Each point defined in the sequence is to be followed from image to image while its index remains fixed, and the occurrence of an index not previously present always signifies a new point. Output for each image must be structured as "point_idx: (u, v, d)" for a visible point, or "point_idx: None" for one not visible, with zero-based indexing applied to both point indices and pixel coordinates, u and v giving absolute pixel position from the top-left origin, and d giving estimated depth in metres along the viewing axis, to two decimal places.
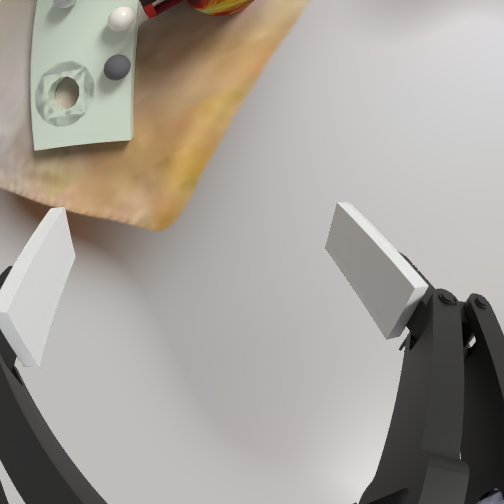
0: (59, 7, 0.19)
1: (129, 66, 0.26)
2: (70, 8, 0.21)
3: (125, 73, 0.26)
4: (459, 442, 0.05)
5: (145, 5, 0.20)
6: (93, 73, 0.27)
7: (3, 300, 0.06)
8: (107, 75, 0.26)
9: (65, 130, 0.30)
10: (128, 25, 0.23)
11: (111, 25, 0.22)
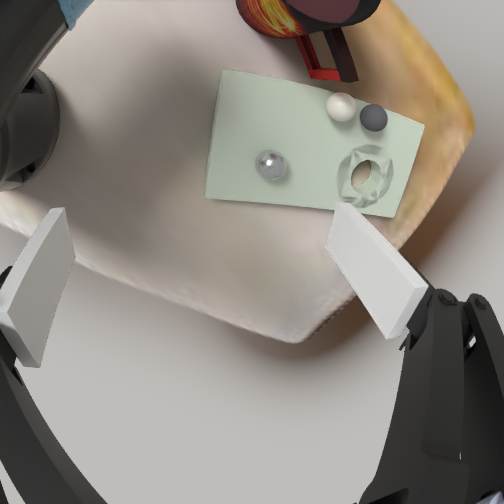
0: (284, 171, 0.30)
1: None
2: None
3: (385, 111, 0.28)
4: (459, 442, 0.05)
5: None
6: (362, 142, 0.32)
7: (3, 300, 0.06)
8: (382, 129, 0.29)
9: (395, 182, 0.36)
10: None
11: None
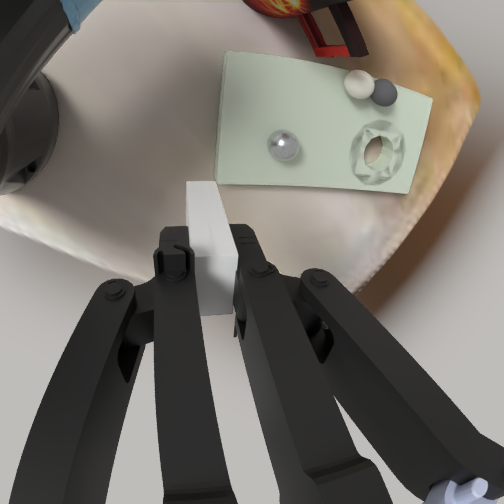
0: (297, 151, 0.28)
1: (387, 80, 0.25)
2: None
3: None
4: (348, 436, 0.05)
5: None
6: (372, 118, 0.30)
7: (202, 247, 0.10)
8: (393, 103, 0.26)
9: (407, 157, 0.34)
10: None
11: None
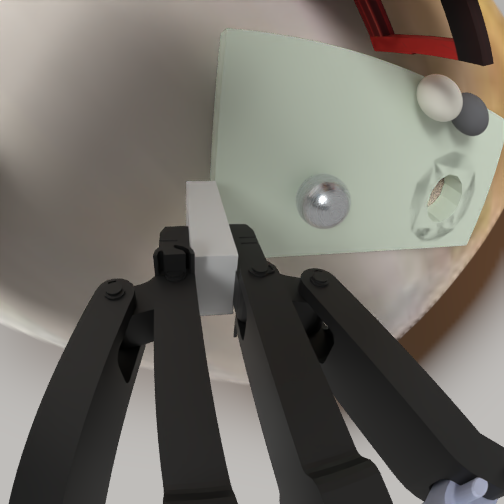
0: None
1: (475, 95, 0.14)
2: None
3: None
4: (348, 436, 0.05)
5: None
6: (445, 150, 0.18)
7: (202, 247, 0.10)
8: None
9: (474, 200, 0.22)
10: None
11: None
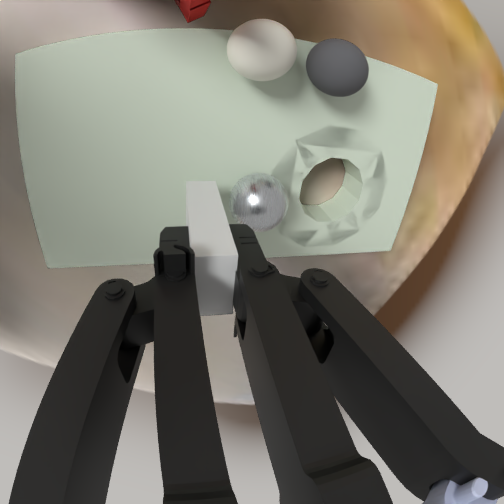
0: (256, 221, 0.15)
1: (344, 40, 0.11)
2: (141, 187, 0.16)
3: None
4: (348, 436, 0.05)
5: None
6: (314, 124, 0.16)
7: (202, 247, 0.10)
8: None
9: (390, 192, 0.20)
10: None
11: None
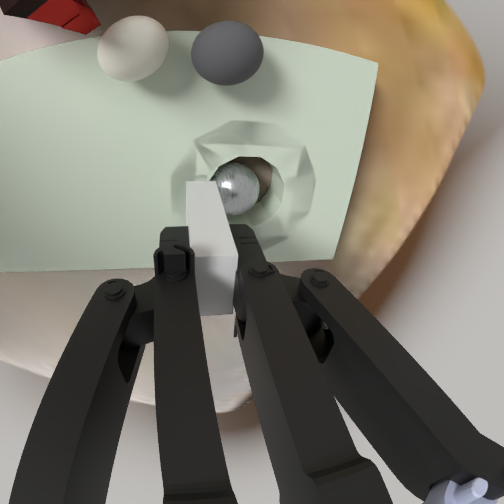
0: None
1: None
2: (49, 198, 0.14)
3: None
4: (348, 436, 0.05)
5: None
6: (213, 121, 0.14)
7: (202, 247, 0.10)
8: (255, 70, 0.11)
9: (323, 192, 0.18)
10: None
11: None
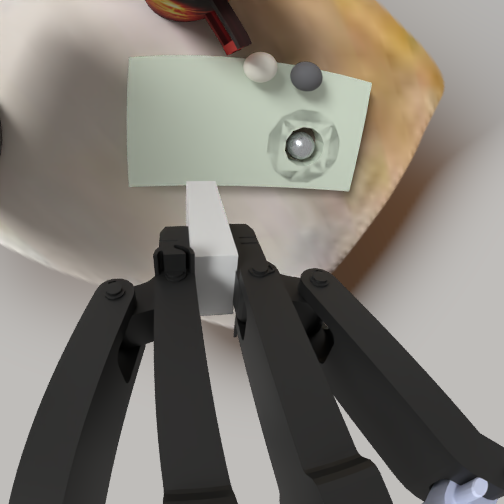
0: None
1: None
2: (197, 138, 0.29)
3: None
4: (348, 436, 0.05)
5: None
6: (292, 108, 0.29)
7: (202, 247, 0.10)
8: (319, 85, 0.26)
9: (343, 150, 0.32)
10: None
11: None
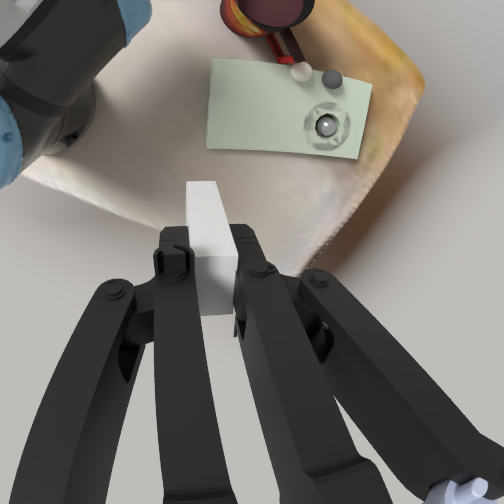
0: None
1: None
2: (258, 117, 0.42)
3: None
4: (348, 436, 0.05)
5: None
6: (320, 100, 0.42)
7: (202, 247, 0.10)
8: (340, 85, 0.39)
9: (353, 129, 0.46)
10: None
11: None
